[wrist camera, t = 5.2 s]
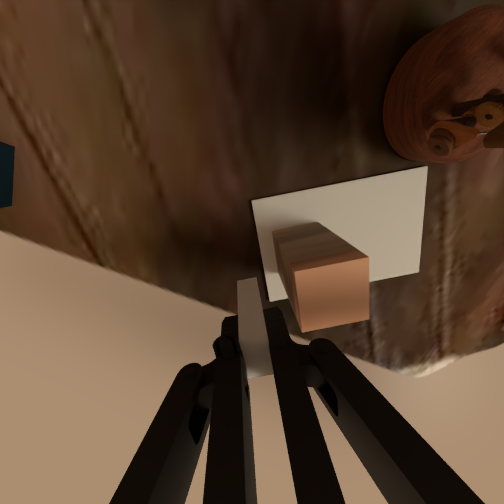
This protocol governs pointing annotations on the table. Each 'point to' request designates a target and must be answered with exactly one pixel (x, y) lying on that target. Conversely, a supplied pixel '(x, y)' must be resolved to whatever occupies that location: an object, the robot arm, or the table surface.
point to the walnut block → (322, 276)
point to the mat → (352, 221)
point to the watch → (6, 174)
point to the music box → (450, 90)
